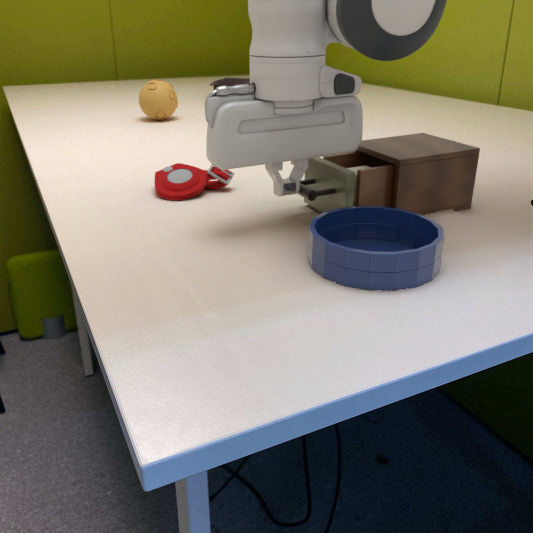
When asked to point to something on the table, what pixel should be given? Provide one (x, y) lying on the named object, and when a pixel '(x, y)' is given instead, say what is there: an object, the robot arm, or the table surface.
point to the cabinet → (428, 171)
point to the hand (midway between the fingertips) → (286, 194)
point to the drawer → (347, 181)
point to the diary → (229, 82)
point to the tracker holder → (189, 181)
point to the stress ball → (158, 99)
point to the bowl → (375, 247)
